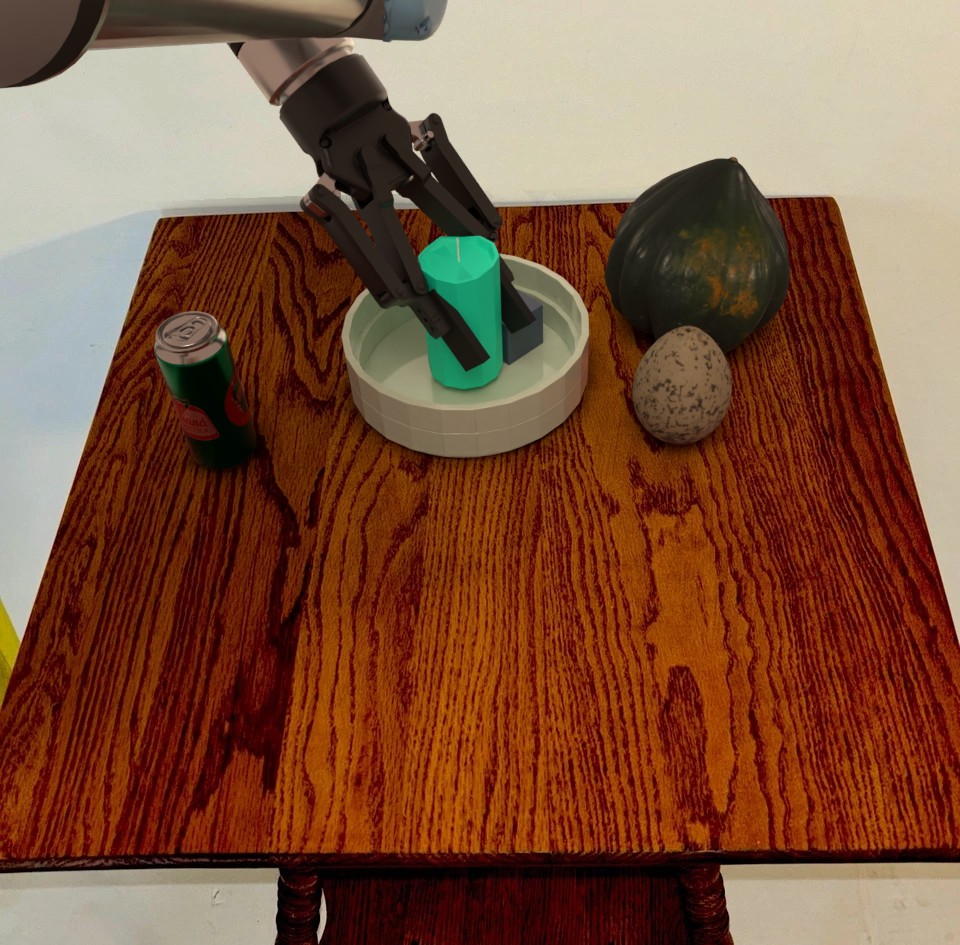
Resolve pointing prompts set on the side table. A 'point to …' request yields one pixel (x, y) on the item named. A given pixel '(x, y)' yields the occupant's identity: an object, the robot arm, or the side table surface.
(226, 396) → the soda can
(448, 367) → the candle
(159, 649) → the side table surface
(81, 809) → the side table surface
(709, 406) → the decorative egg
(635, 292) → the squash
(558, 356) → the bowl
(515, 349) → the block
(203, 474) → the side table surface
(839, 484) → the side table surface
